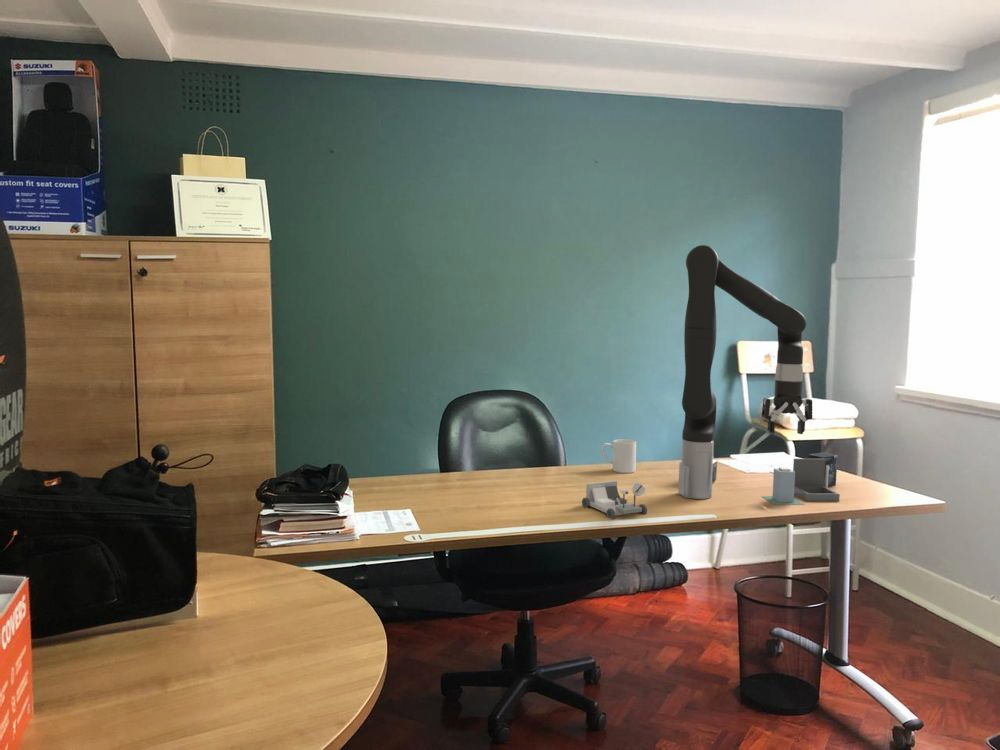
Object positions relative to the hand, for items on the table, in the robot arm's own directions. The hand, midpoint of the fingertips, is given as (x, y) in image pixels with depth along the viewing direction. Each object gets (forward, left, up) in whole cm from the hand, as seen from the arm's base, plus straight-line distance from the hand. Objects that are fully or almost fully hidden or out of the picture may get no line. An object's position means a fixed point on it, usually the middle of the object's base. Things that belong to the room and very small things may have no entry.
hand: (785, 433), depth 219 cm
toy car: (-52, -11, -21) cm, 57 cm away
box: (+21, +18, -21) cm, 35 cm away
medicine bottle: (-16, +24, -21) cm, 36 cm away
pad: (0, -1, -20) cm, 20 cm away
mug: (-41, +40, -21) cm, 61 cm away
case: (+12, +3, -20) cm, 24 cm away
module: (0, -1, -20) cm, 20 cm away
